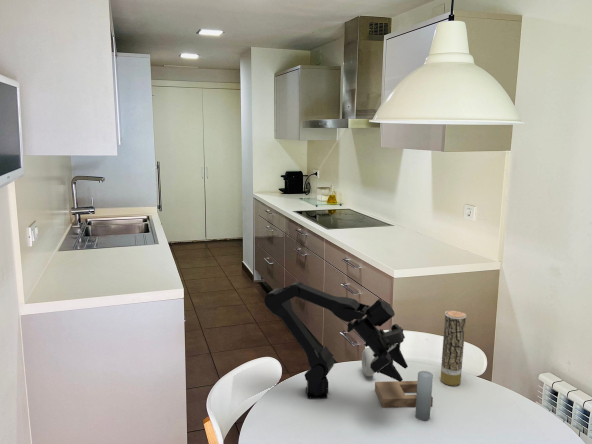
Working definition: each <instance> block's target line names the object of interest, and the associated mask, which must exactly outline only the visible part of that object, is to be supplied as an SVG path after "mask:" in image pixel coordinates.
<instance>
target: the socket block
mask: <svg viewBox="0 0 592 444" xmlns="http://www.w3.org/2000/svg"><path fill="white" fill-rule="evenodd" d="M417 381H418V380H402V381H401V382H399V381H397V380H394V381H393V380H392V381H375V382H374V391H375V393H376V395H377V398H378V400H379V402H380V404H381V407H382V408H383V409H385V408H387V409H388V408H389V409H390V408H392V409H394V408H416V396H417V394H414V393H417ZM406 393H410V394H406ZM411 393H412V394H411ZM433 399H434V397H433V396H432V397H431V407H433V403H434V400H433Z"/></svg>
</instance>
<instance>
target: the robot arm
mask: <svg viewBox="0 0 592 444" xmlns="http://www.w3.org/2000/svg"><path fill="white" fill-rule="evenodd" d="M293 298H298V299H301V300H304V301H307V302H309V303H311V304H314V305H316V306H318V307H321V308H324V309H326V310H329V311H330V312H331V313H332V314H333V315H334V316H335V317H336V318H338V319H339V320H341V321H343V322H346V323H347V333H351V332H352V331H353V330H354V331H355V332H356V333H357V335H358V336H359V337H360V338H361V339H362V340H363V342H364V344H363V346H364V347H365V348H370V349H371V350H372V351H373V352H374V354H373V356H374V357H375V358H374V359H373V360H372V362H371V364H370V368H371V369H372V370H373V372H374V374H375V373H377V374H381V375H384V376H386V377H389V378H391V379H393V380H394V381H399V382H401V381H404V380H403V379H404V378H403V377H402V376H401V374H400V373H399V371H398V370H397V368H396V366H395V365H394V362H395V363H396V364H398V365H400V366H401V367H402V368H404V369H407V368H408V363H407V362H406V360H405V358H404V354H403V353H402V350H401V343H404V340H405V338H406V336H405V334H404V329H403V328H402V327H401V326H399V324H397V323H395V324H392V325H391V327H390V328H391V329H388V331H384V330H383V329H381V328H380V329H378V328H377V327H381V326H383V325H384V324H385V323H387V322H388V321H389V320H391V319H392V318H394V317H395V311H394V309H393V307H392V306H391V304H389V303H387V302H386V301H384V300H382V299H381V298H378V299H376V300H375V302H374V303H372V304H371V305H369V304H365V303H361V302H359V301H358V300H357V299H354V298H352V297H346V296H335V295H332V294H330V293H327V292H324V291H321V290H319V289H317V288H314V287H312V286H309V285H307V284H304V283H303V282H301V281H296V282H293V283H292V284H290V285H288V286H287V285H286V286H285V287H283V288H280V287H276V288H275V289H273V290H271V291H270V292H268V293H267V294H266V295H265V297H264V301H263V303H264V306H265V307H266V309H268V310H269V311H270V313H271V314H273V315H274V316H276V317H278V318H280V319H281V321H282V322H283V323H284V325H285V326H286V328H287V329H288V330H289V332H290V334H291V335H292V336H293V338H294V339H295V340H296V342H297V344H298V345H299V346H300V348H301V349H302V350H303V351H304V353H305V355H306V359H307V363H308V366H309V368H308V369H307V371H306V372H305V373H304V379H305V381H306V387H305V391H306V396H307V399H328V394H329V380H328V378H327V377H328V375H329V373H330V371H331V370H332V369H333V367H334V365H335V359H334V354H333V353H331V351H330V350H329V347H328V346H326V345H325V346H324V347H323V346H320V345H319V344H318V343H317V342H316V341H315V339H314V337H312V335H311V333H310V332H309V331H308V330H307V328H306V327H305V325H304V324H303V322H302V321H301V319H300V318H299V316H298V315H297V313H296V312H295V311H294V309H293V304H292V301H291V299H293Z"/></svg>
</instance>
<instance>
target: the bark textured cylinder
mask: <svg viewBox="0 0 592 444" xmlns="http://www.w3.org/2000/svg"><path fill="white" fill-rule="evenodd" d="M466 320H467V313H464V312H463V311H459V310H446V311H445V312H444V326H443V339H442V353H441V355H442V356H441V364H440V365H441V366H440V381H441V382H442V383H444V384H445V385H447V386H450V387H451V386H458V385H460V384H461V383H462V381H461V379H462V372H463V371H462V369H463V357H464V346H465V332H466V322H467V321H466Z"/></svg>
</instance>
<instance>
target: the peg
mask: <svg viewBox="0 0 592 444" xmlns="http://www.w3.org/2000/svg"><path fill="white" fill-rule="evenodd" d="M433 379H434V373H432V372H430V371H427V370H420V371H418V373H417V380H416V381H417V392H416V395H417V396H416V407H415V410H414V411H415V414H414V416H415V418H416V419H417V420H418V421H422V422H426V421H429V420H430V419H431V411H432V408H431V397H433V395H432V394H433V381H434V380H433Z"/></svg>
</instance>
